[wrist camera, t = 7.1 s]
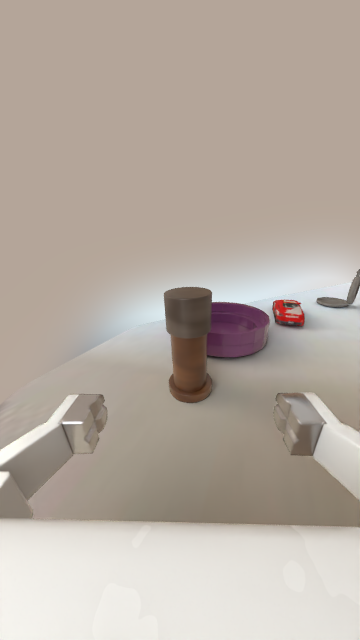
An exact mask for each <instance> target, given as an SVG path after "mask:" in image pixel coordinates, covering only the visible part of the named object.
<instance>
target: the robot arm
mask: <svg viewBox="0 0 360 640" xmlns="http://www.w3.org/2000/svg"><path fill="white" fill-rule="evenodd" d="M104 401H105V400H104V397H103V395H101V394H70V395H68V396H67V397H66V398H65V400H64V401H63V402H62V404H61V405H60V406H59V407H58V409H57V410H56V411H55V412H54V414H53V415H52V416H51V417H50V419H49V420H48V421H47V423H46V424H41V425H39V426H38V427H36V428H35V429H33V430H31V431H30V432H28V433H27V434H25V435H24V436H22V437H20V438H19V439H17V440H16V441H14V442H13V443H11V444H9V445H8V446H6V447H5V448H3V449H2V450H0V640H360V527H339V526H301V525H263V524H225V523H186V522H147V521H108V520H68V519H31V518H32V516H33V509H32V508H31V506H30V505H29V503H28V501H27V500H28V499H29V498H30V497H31V496H32V495H33V494H34V493H36V492H37V491H38V490H39V489H40V488H41V487H42V486H43V485H44V484H45V483H46V482H47V481H48V480H49V479H50V478H51V477H52V476H53V475H54V474H55V473H56V472H57V471H58V470H59V469H60V468H61V467H62V466H63V465H64V464H65V463H66V462H67V461H68V460H69V459H70V458H71V457H72V456H73V454H92V453H93V452H94V449H95V447H96V445H97V443H98V441H99V435H98V434H99V433H100V432H101V431H102V430H103V429H104V427H105V425H106V421H107V408H106V407H105V406H104V405H103V403H104ZM276 401H277V403H278V404H277V405H276V406H275V407H274V412H273V414H274V420H275V424H276V426H277V428H278V430H279V431H281V432H282V433H283V434H284V437H283V440H284V442H285V444H286V446H287V448H288V450H289V452H290V454H291V455H299V456H313V458H314V459H315V460H316V461H317V462H318V463H319V464H320V465H321V466H323V467H324V468H325V469H326V470H327V471H328V472H329V473H330V474H331V475H332V476H333V477H334V478H335V479H337V480H338V481H339V482H340V483H341V484H342V485H343V486H344V487H345V488H346V489H347V490H348V491H349V492H350V493H352V494H353V495H354V496H355V497H356V498H357V499H358V500H359V501H360V432H358V431H357V430H355V429H353V428H352V427H350V426H348V425H347V424H341V422H340V421H339V420H338V419H337V418H336V417H335V416H334V414H333V413H332V412H331V411H330V410H329V409H328V407H327V406H326V405H325V404H324V403H323V402H322V400H321V399H320V398H319V397H318V396H317V395H316V394H315V393H313V392H307V393H278V394H277V396H276Z"/></svg>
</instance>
